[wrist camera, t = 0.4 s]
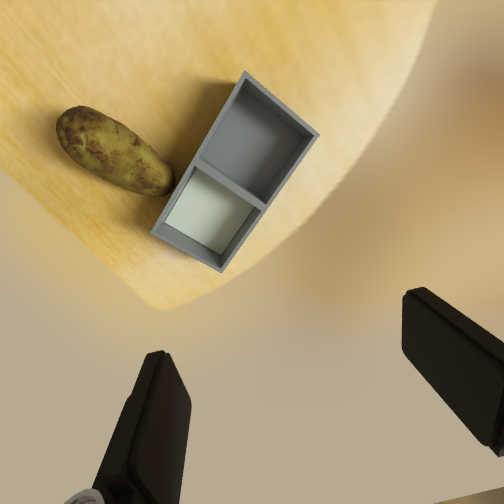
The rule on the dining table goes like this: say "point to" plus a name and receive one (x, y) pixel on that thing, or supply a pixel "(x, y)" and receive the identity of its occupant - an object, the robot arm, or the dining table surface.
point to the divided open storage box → (234, 175)
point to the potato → (113, 152)
